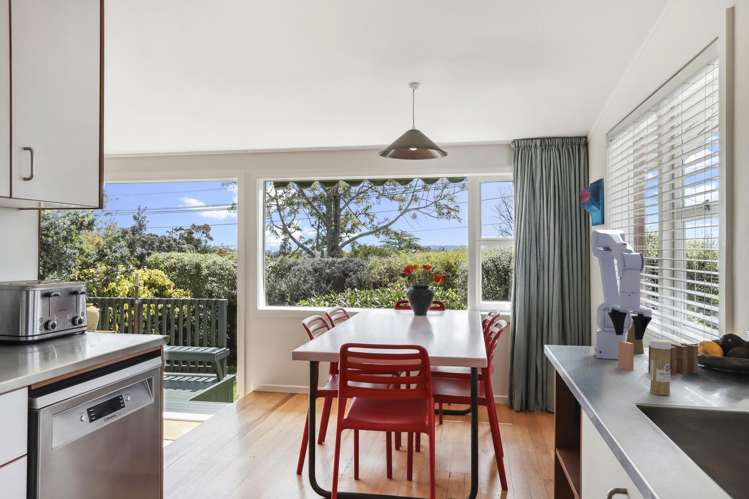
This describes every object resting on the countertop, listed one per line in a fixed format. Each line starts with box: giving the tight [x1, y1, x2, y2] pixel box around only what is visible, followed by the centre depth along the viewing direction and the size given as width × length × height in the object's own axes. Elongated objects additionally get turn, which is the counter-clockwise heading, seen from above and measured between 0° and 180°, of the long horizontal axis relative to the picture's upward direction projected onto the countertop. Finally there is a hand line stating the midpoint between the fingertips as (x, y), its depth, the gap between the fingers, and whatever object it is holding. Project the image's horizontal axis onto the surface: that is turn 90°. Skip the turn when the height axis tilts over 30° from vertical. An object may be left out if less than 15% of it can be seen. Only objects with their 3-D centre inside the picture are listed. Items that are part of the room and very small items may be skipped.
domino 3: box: [670, 346, 677, 376], centre depth 147 cm, size 2×4×8 cm, turn 16°
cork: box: [626, 319, 645, 355], centre depth 176 cm, size 6×6×11 cm
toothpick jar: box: [649, 338, 672, 396], centre depth 127 cm, size 5×5×14 cm
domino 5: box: [680, 342, 699, 374], centre depth 150 cm, size 2×4×8 cm, turn 16°
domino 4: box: [671, 343, 688, 375], centre depth 149 cm, size 2×4×8 cm, turn 16°
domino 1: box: [617, 340, 635, 371], centre depth 152 cm, size 2×4×8 cm, turn 16°
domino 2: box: [647, 344, 651, 373], centre depth 146 cm, size 2×4×8 cm, turn 16°
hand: (629, 337), depth 153 cm, fingers open, 7 cm apart
